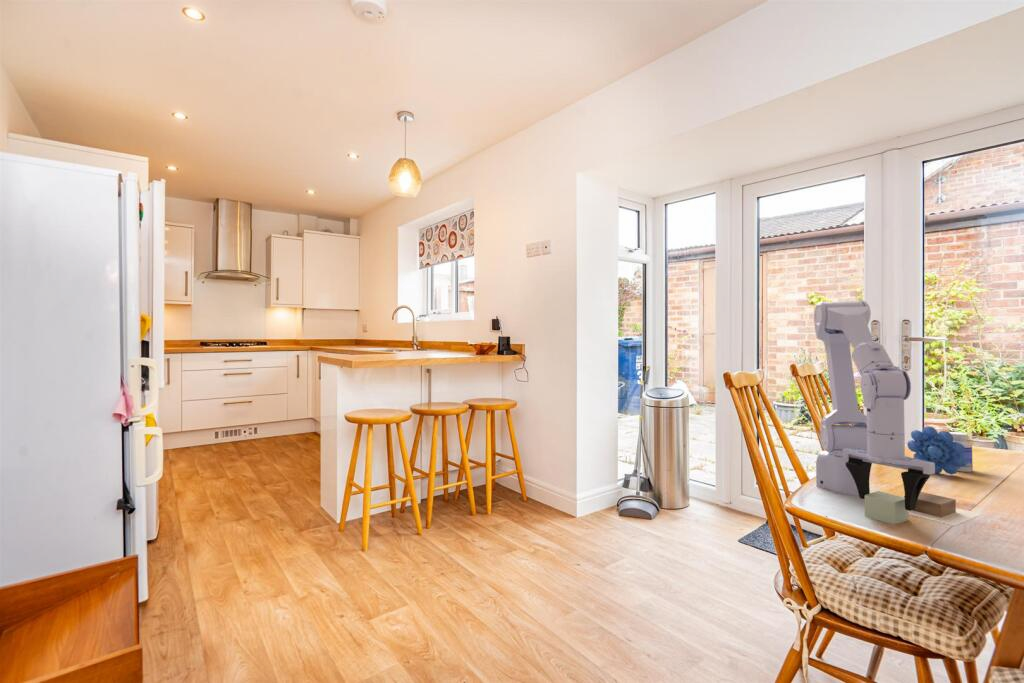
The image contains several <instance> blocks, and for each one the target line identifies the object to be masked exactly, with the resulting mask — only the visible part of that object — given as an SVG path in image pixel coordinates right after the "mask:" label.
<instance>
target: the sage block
mask: <svg viewBox="0 0 1024 683" xmlns="http://www.w3.org/2000/svg"><path fill="white" fill-rule="evenodd" d="M909 515H910V514H908V510H905V497H904V496H900V495H897V494H893V493H888V492H884V491H880V490H878V491H874V492H872V493H871V492H870V494H867V495H865V499H864V517H865V518H870V519H873V520H877V521H880V522H883V523H887V524H889V525H890V524H891V525H893V526H896V525H898V524H901V523H904V522H906V521H909Z"/></svg>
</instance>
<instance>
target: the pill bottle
mask: <svg viewBox="0 0 1024 683" xmlns="http://www.w3.org/2000/svg"><path fill="white" fill-rule="evenodd" d="M948 432H949V433H950V434H951V435H952V436H953V438H954V440H953V442H958V443H961V444H962V445H963V446H964V447H965V452H964V454H961V456H963V457H964V458H965V459H966V461H967V464H966V466H964V467H959V466H956V465H955V466H956V467H957V470H958V471H957V472H963V473H971V472H973V468H974V467H973V464H974V463H973V444H972V443H971V442H970V441H968V440H969V434H968V433H965V432H962V431H961V432H960V431H948Z"/></svg>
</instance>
